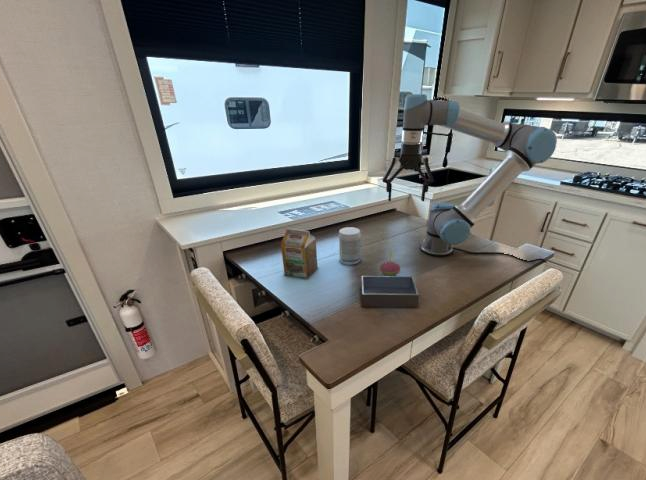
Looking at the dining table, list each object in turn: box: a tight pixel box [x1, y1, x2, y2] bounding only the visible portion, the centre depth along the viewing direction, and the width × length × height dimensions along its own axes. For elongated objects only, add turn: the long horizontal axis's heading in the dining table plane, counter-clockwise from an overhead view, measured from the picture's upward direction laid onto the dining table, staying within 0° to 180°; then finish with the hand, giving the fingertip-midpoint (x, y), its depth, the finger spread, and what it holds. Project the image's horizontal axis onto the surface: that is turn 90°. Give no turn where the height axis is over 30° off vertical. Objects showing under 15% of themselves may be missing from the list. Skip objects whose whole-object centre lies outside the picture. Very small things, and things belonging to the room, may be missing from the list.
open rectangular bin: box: [360, 275, 420, 308], centre depth 121 cm, size 20×14×5 cm
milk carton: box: [280, 228, 318, 280], centre depth 134 cm, size 11×11×19 cm
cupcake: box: [379, 249, 401, 276], centre depth 132 cm, size 9×8×12 cm
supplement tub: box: [338, 226, 361, 266], centre depth 145 cm, size 10×10×15 cm
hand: (406, 200), depth 131 cm, fingers open, 13 cm apart
